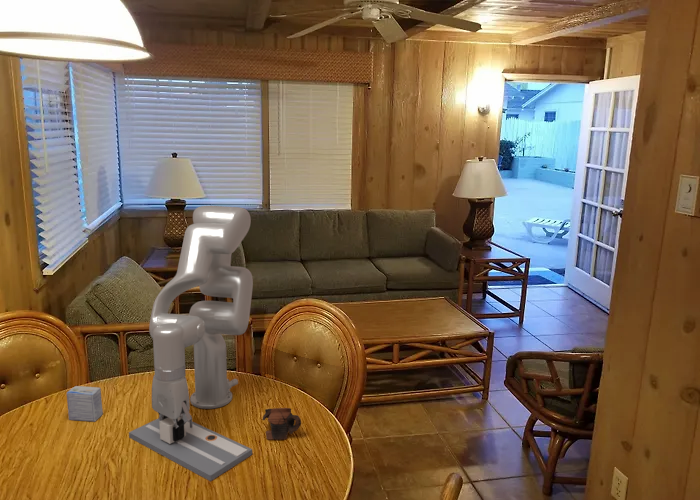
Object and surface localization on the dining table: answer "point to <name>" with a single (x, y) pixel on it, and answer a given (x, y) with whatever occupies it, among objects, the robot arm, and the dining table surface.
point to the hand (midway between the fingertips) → (172, 435)
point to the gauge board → (194, 448)
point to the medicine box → (84, 403)
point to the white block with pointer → (169, 429)
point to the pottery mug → (281, 423)
